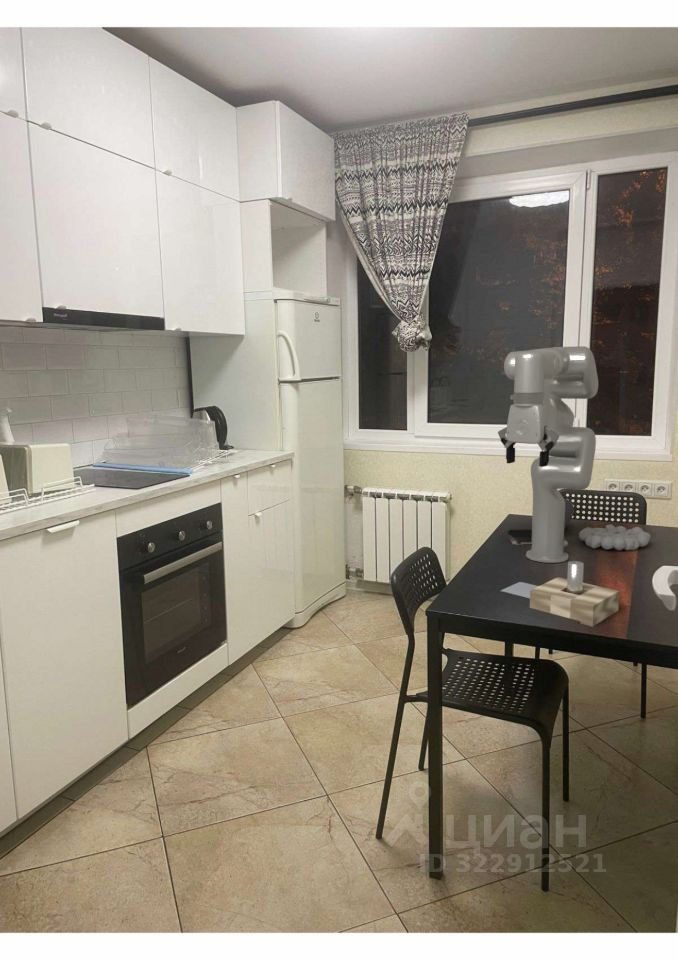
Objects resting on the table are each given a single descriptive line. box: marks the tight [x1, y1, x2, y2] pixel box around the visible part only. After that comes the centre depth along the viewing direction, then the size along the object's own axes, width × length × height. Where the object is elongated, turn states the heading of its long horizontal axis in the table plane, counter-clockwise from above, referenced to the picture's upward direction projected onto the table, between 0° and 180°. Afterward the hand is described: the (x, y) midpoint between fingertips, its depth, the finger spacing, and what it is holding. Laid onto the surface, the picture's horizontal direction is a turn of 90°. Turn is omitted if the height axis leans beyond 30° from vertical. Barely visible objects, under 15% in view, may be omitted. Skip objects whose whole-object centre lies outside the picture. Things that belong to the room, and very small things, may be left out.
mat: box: [500, 581, 539, 599], centre depth 178 cm, size 10×10×1 cm
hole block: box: [529, 576, 620, 627], centre depth 164 cm, size 14×16×5 cm
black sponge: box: [507, 528, 532, 546], centre depth 228 cm, size 16×8×4 cm, turn 89°
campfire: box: [578, 524, 651, 551], centre depth 222 cm, size 22×21×6 cm
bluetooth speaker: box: [563, 497, 575, 529], centre depth 244 cm, size 23×9×10 cm, turn 154°
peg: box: [566, 560, 585, 595], centre depth 164 cm, size 4×4×12 cm
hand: (526, 464), depth 179 cm, fingers open, 9 cm apart
